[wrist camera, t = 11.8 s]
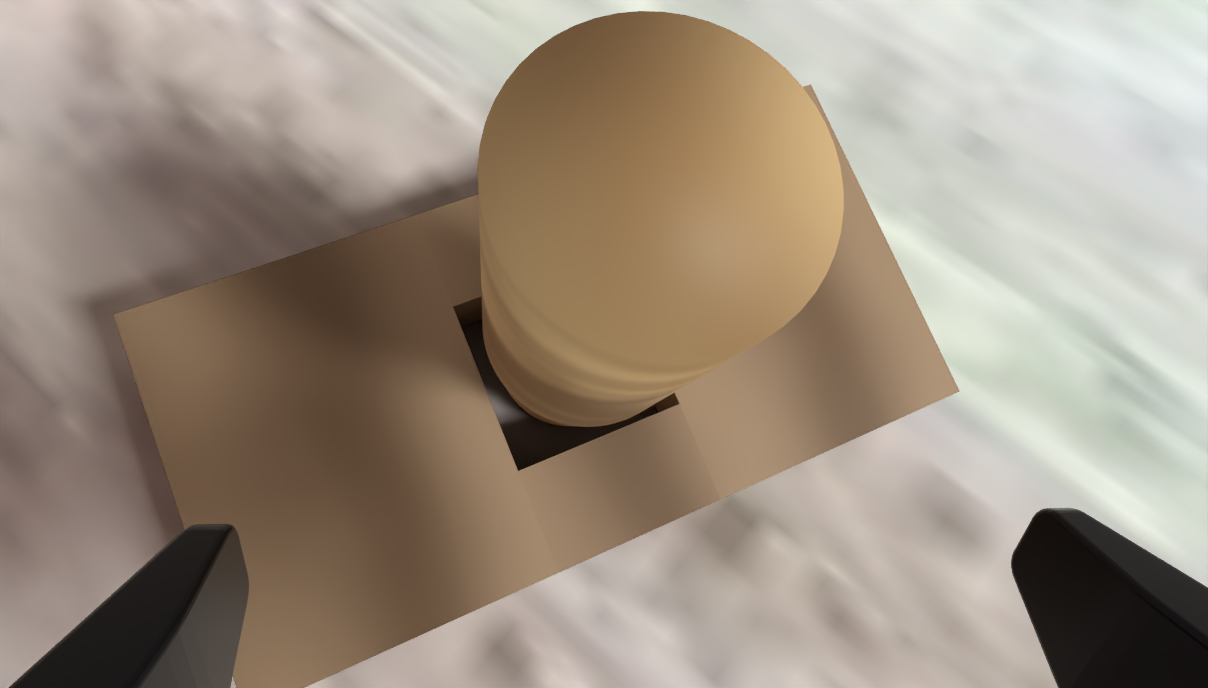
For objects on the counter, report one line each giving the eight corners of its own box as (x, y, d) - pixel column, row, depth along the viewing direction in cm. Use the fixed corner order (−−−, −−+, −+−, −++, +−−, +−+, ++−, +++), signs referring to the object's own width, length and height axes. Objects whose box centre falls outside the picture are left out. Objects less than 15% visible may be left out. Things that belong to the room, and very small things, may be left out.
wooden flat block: (275, 688, 20) (245, 713, 17) (156, 336, 21) (113, 314, 19) (911, 402, 24) (959, 391, 22) (780, 124, 25) (810, 84, 23)
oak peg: (517, 472, 22) (565, 422, 8) (461, 332, 22) (421, 68, 9) (655, 414, 23) (903, 283, 9) (598, 281, 23) (752, -28, 10)
